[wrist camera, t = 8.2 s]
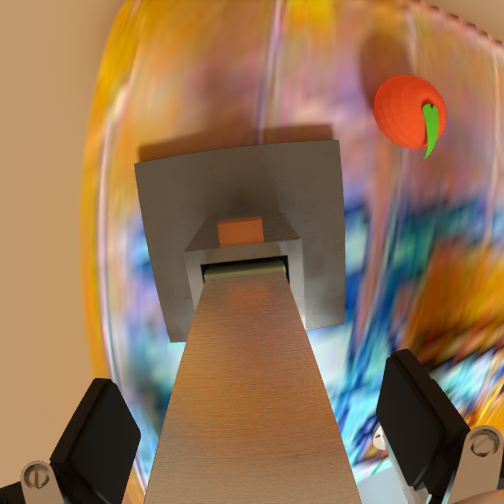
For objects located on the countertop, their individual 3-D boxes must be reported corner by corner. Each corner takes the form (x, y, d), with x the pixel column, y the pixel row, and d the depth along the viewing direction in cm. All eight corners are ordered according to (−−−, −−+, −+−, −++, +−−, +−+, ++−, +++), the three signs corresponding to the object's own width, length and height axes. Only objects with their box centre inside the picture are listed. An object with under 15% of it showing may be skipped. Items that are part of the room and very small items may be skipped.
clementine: (425, 159, 26) (468, 162, 19) (368, 161, 26) (404, 162, 19) (414, 85, 23) (454, 71, 17) (356, 81, 23) (388, 61, 17)
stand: (333, 141, 25) (391, 129, 14) (340, 317, 30) (379, 386, 19) (139, 163, 25) (75, 167, 14) (173, 334, 30) (146, 410, 19)
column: (275, 242, 20) (394, 588, 1) (280, 299, 21) (350, 599, 3) (213, 249, 20) (117, 595, 1) (221, 305, 21) (189, 608, 3)
